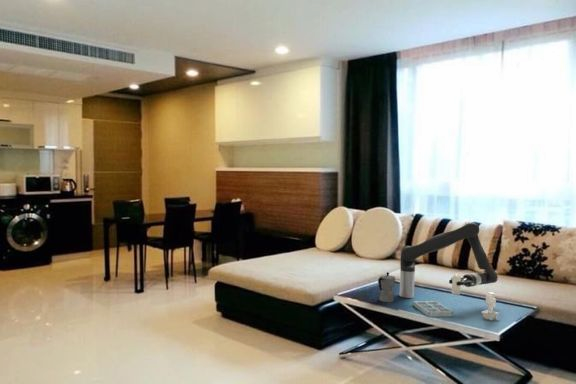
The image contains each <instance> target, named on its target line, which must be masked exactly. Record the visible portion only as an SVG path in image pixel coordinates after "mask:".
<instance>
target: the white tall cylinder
mask: <svg viewBox="0 0 576 384" xmlns="http://www.w3.org/2000/svg"><path fill="white" fill-rule="evenodd" d="M461 277H462V276H460V274H454V275H452V277H451V278H452V283H451V295H455V296H460V295H461V286H462V285H459V286H457V282H459V281H461Z"/></svg>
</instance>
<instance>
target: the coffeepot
mask: <svg viewBox="0 0 576 384" xmlns="http://www.w3.org/2000/svg"><path fill="white" fill-rule="evenodd" d="M395 281H396V276H393V275H390V272H388V271H387V272H386V274H385V275H384V274H383V275H381V276H379V278H378V281H377V283H378V288H379V291H380V295H379V301H380V302H383V303H393V302H395V297H394V291H393V288H394V285H395Z"/></svg>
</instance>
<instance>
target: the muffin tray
mask: <svg viewBox="0 0 576 384" xmlns="http://www.w3.org/2000/svg"><path fill="white" fill-rule="evenodd" d="M412 306H413V307H414V306H415V308H416V309H417V310H419V311H420V312H422V313H423V314H424V315H425V316H427V317H428V318H429V317H431V318H433V317H453V316H454V311H453V310H451V309H449V308H447V307H446V306H445V305H443V304H442V303H440V302H439V301H437V300H436V301H435V300H433V301H431V300H429V301H427V300H425V301H424V300H423V301H422V300H419V301H416V300H415V301H414V300H413V304H412Z"/></svg>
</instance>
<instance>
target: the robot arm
mask: <svg viewBox="0 0 576 384" xmlns="http://www.w3.org/2000/svg"><path fill="white" fill-rule="evenodd" d="M479 232H480V226H479V225H478V224H476V223H474V222H468V223H465V224H464V225H463V226H461V227H459V228H456V229H454V230H449V231H445V232H442V233H439V234H436V235H434V236H431V237H430V238H428V239H426V240H424V241H423V242H422V243H421V242H420V243H419V244H417V245H413V246H411V245H406V246H403V247H402V248H401V250H400V263H399V264H400V266H399V267H400V275H399V297H401V298H407V299H411V298H414V297H415V296H414V295H415V279H416V278H415V275H416V273H415V272H416V265H415V264H416V262H415V261H416V259H417V258H420V257H421V256H424V255H426V254H430V253H434V252H436V251H437V252H438V251H439V250H442V249H445V248H447V247H450V246H451V245H454V244H456V243H457V242H460V241H462V240H466V239H467V241H468V243H469V245H470V247H471V250H472V253H473V256H474V259H475V262H476V265H477V267H478V269H479V270H484V271H485V272H482V273H480V272H479V273H468V274H464V275H463V276H460V277H461V281H459V282H457V286H459V285H461V286H463V287H464V286H465V287H466V288H470V287H476V286H480V285H481V286H482V285H489V284H494V283H497V281H498V275H497V272H496V271H495V270H494V268H493V267H492V265H491V264H490V261H489V258H488V256H487V254H486V252H485V249H484V248H483V246H482V244H481V241H480V238H479ZM448 284H451V285H452V277H451V278H450V279H449V282H448Z"/></svg>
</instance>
